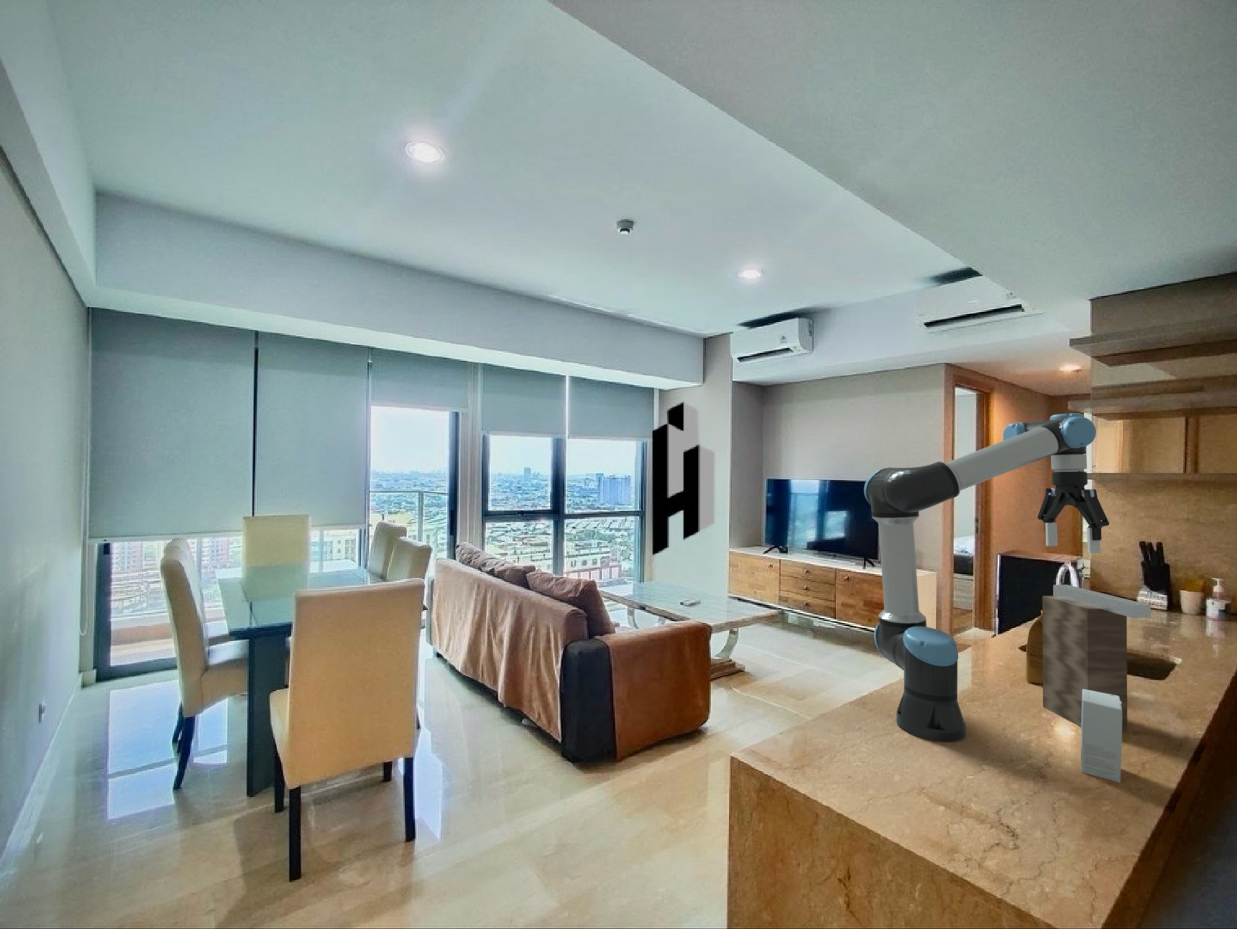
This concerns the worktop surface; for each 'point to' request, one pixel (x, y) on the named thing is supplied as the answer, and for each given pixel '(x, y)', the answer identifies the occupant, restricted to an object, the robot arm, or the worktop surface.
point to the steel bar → (1103, 601)
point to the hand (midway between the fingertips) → (1072, 549)
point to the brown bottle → (1035, 652)
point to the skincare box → (1101, 735)
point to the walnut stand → (1082, 656)
